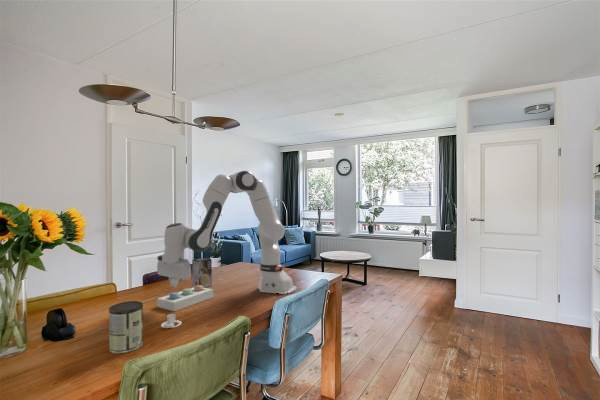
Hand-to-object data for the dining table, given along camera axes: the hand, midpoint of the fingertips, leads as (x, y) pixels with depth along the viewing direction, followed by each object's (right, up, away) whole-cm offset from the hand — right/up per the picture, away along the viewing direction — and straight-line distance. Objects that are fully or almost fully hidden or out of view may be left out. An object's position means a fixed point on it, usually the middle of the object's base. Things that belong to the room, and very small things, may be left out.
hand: (174, 286), depth 148 cm
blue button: (0, -6, 0) cm, 6 cm away
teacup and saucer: (+5, -10, -23) cm, 26 cm away
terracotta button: (+7, -6, +13) cm, 16 cm away
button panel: (+4, -9, +7) cm, 12 cm away
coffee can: (0, -10, -41) cm, 42 cm away
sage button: (+4, -6, +7) cm, 10 cm away
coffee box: (+3, -10, +33) cm, 35 cm away
